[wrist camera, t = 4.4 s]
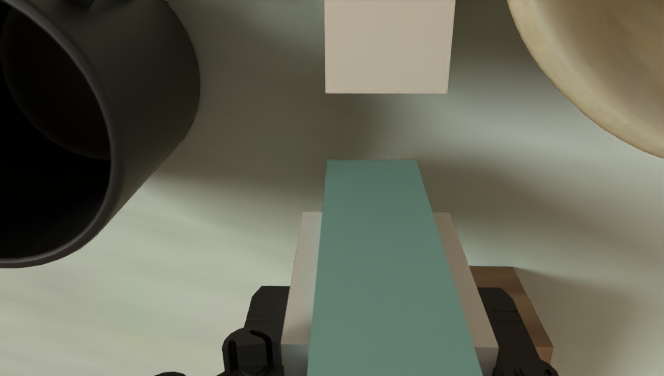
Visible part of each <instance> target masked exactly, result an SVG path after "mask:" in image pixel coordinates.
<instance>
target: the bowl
mask: <svg viewBox="0 0 664 376" xmlns="http://www.w3.org/2000/svg"><path fill="white" fill-rule="evenodd" d="M507 2H508V6H509V9H510V12H511V15H512V17H513V20H514V22H515V25H516V27H517V29H518V31H519V33H520V35H521V38H522V40H523V42H524V43H525V45H526V47H527V49H528V50H529V52H530V54H531V55H532V57H533V58H534V60H535V61H536V63H537V64H538V66H539V67H540V68H541V70H542V71H543V72H544V73H545V75H546V76H547V77H548V78H549V79H550V80H551V82H552V83H553V84H554V85H555V86H556V87H557V89H558V90H559V91H560V92H561V93H562V94H563V95H564V96H566V97H567V98H568V99H569V100H570V101H571V102H572V103H573V104H574V105H575V106H576V107H577V108H578V109H579V110H580V111H581V112H583V113H584V114H585V115H586V116H587V117H589V118H590V119H591V120H592V121H593V122H595V123H596V124H597V125H599V126H600V127H602V128H603V129H604V130H606V131H608V132H609V133H611V134H612V135H614V136H616V137H617V138H619V139H621V140H622V141H624V142H626V143H628V144H630V145H632V146H634V147H636V148H638V149H640V150H642V151H644V152H647V153H649V154H652V155H655V156H658V157H660V158H664V0H507Z"/></svg>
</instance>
